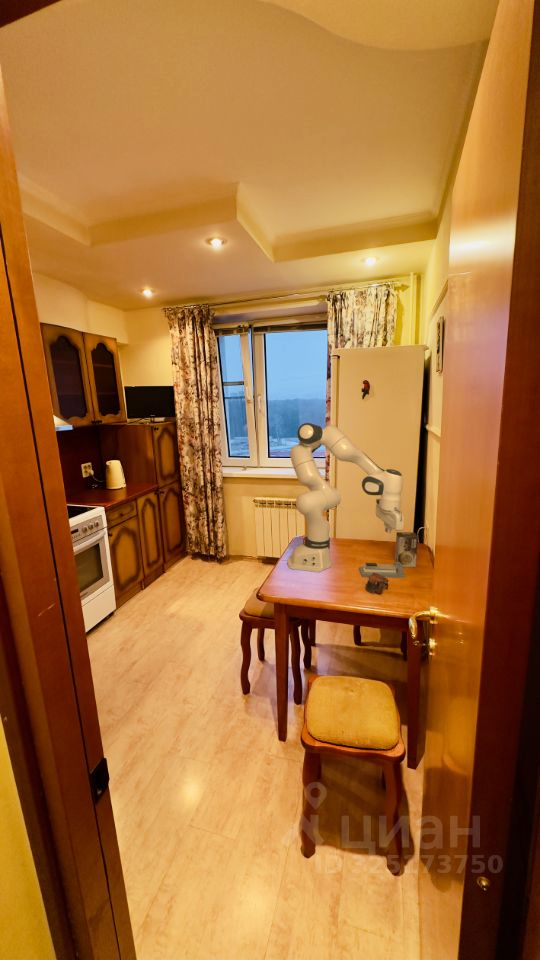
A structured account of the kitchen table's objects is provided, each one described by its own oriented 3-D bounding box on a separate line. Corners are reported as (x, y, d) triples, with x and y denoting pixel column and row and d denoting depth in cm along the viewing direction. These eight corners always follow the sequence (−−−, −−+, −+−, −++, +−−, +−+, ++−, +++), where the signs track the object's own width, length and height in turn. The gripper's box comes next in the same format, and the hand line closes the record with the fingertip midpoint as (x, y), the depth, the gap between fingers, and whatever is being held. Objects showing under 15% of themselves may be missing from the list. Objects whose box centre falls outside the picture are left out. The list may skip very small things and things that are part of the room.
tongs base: (361, 576, 171) (362, 568, 170) (358, 568, 179) (359, 560, 178) (405, 577, 170) (405, 569, 169) (400, 569, 177) (400, 561, 176)
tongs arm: (398, 566, 175) (399, 563, 174) (400, 570, 171) (401, 567, 171) (364, 565, 176) (364, 562, 175) (365, 568, 172) (365, 565, 172)
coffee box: (412, 561, 186) (414, 532, 182) (416, 567, 179) (418, 537, 176) (394, 561, 186) (396, 531, 183) (397, 566, 180) (399, 536, 176)
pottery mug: (360, 585, 164) (368, 569, 164) (379, 594, 164) (386, 578, 165) (369, 593, 152) (378, 575, 152) (389, 602, 152) (397, 585, 153)
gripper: (409, 511, 158) (405, 540, 161) (386, 497, 177) (383, 524, 181) (395, 512, 157) (392, 541, 160) (374, 498, 176) (372, 524, 180)
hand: (387, 532), depth 171 cm, fingers closed
